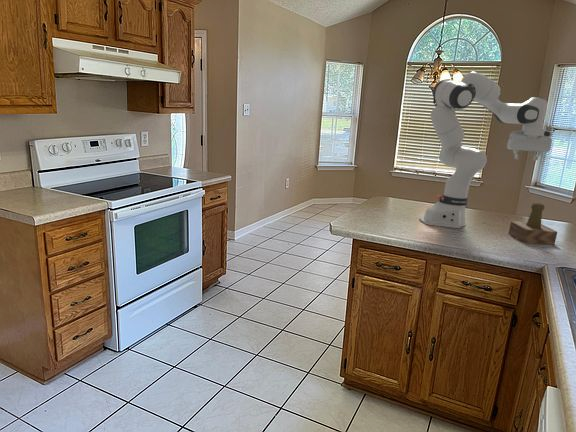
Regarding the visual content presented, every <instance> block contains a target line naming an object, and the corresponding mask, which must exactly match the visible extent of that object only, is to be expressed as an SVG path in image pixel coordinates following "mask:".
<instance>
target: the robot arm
mask: <svg viewBox="0 0 576 432" xmlns="http://www.w3.org/2000/svg"><path fill="white" fill-rule="evenodd" d="M500 95H501V87H500V86H499V84H498V83H497V82H496V81H494V80H493V79H492V78H489V77H488V76H486V75H485V74H482V73H480V72H477V71H470V72H468V73H466V74H465V75H464V76H463V77H462V79H461V81H456V80H455V81H454V80H449V79H444V80H440V81H437V83H436V84H435V85H434V86H433V89H432V97H433V99H432V100H433V101H432V102H433V105H434V106H435V107H434V108H433V109H432V110H431V112H430V120H431V123H432V126H433V129H434V131H435V133H436V136H437V138H438V140H439V142H440V144H441V149H440V151H439V154H438V159H439V161H440V162H441V164H443V165H445V166H447V167H450V168H454V169H455V172H454V174H453V175H451V176H449V177H448V178H447V179H446V180H445V185H444V191H443V194H442V195H441V194H437V195H436V198H437V199H439V200H438V201H437V202H435V203H434V204H432V205H430V206H428V207H427V208H426V210H425V213H424V215H421V216H419V221H420V222H422V224H425V225H428V226H436V227H443V228H444V227H445V228H453V229H460V228H463V227H465V226H466V225H467V224H466V208H467V206H468V200H469V199H468V196H469V195H468V194H469V190H470V184H471V182H472V180H473V178H474V177H475V175H477V174H478V172H480V171H482V170H483V169H484V168H485V166H486V164H487V159H488V157H487V155H486V153H485V151H482V150H480V149H478V148H474V147H468V146H465V145H463V143H462V142H463V140H464V138H465V132H464V129H463V127H462V125H461V123H460V121H459V119H458V117H457V114H456V110H463V109H466V108H468V107H469V106H470V105H471V104H472V102H473V101H475V102H476V103H478V104H480V105H481V106H482V107H484V108H485V109H486V110H488V111H489V112H490V113H492V114H493V115H494V117H495V118H496V121H498V122H499V123H500V124H512V125H522V128H521V130H513V131H511V132H510V133H509V135H508V141H507V144H506V148H507V150H512V152H513V154H514V160H519V159H520V155H518V153H519V151H526V152H536V155H535V156H533V157H532V161H539V158H540V157H541V155H542V153H543V152H544V153H548V152H550V151H551V148H552V136H553V132H552V131H549V130H547V129H544V120H545V119H546V115H547V111H548V101H547V100H546V98H543V97H537V96H536V97H535V96H532V97H530V98H529V99H528V100H526V101H524V102H522V103H511V102H502V101H501V100H500V99H499V97H500Z"/></svg>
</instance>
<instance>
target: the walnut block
mask: <svg viewBox="0 0 576 432" xmlns="http://www.w3.org/2000/svg"><path fill="white" fill-rule="evenodd" d="M527 222H528V221H526V222H525V221H510V225H509V228H508V229H509V231H508V234H509V235H511V236H512V237H514V238H516V239H517V240H519V241H520V242H522V243H525V244H526V243H527V244H541V245H555V244H556V239H557V235H558V231H557V230H554V229H552V228H550V227H549V226H546V225H545V224H542V223H541V228H532V227H529V226H527V225H526V224H527Z"/></svg>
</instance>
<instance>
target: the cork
mask: <svg viewBox="0 0 576 432" xmlns="http://www.w3.org/2000/svg"><path fill="white" fill-rule="evenodd" d="M544 210H545V205H544V204H543V203H540V202H534V203H532V204H531V212H530V214H529V217H528V220H527V221H526V222H527V224H526V225H527V226H529V227H532V228H541V224H542V219H543V218H542V216H543V211H544Z"/></svg>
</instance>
